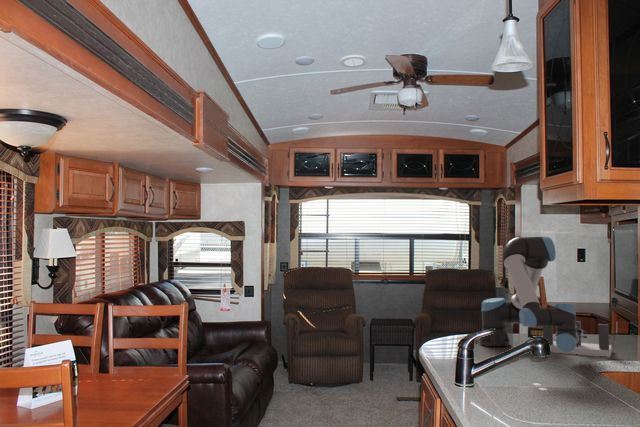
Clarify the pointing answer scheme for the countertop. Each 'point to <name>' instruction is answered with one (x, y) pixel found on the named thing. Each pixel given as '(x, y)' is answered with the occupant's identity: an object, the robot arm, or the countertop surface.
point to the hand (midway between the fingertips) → (574, 328)
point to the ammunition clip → (535, 331)
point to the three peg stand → (584, 348)
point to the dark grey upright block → (578, 325)
